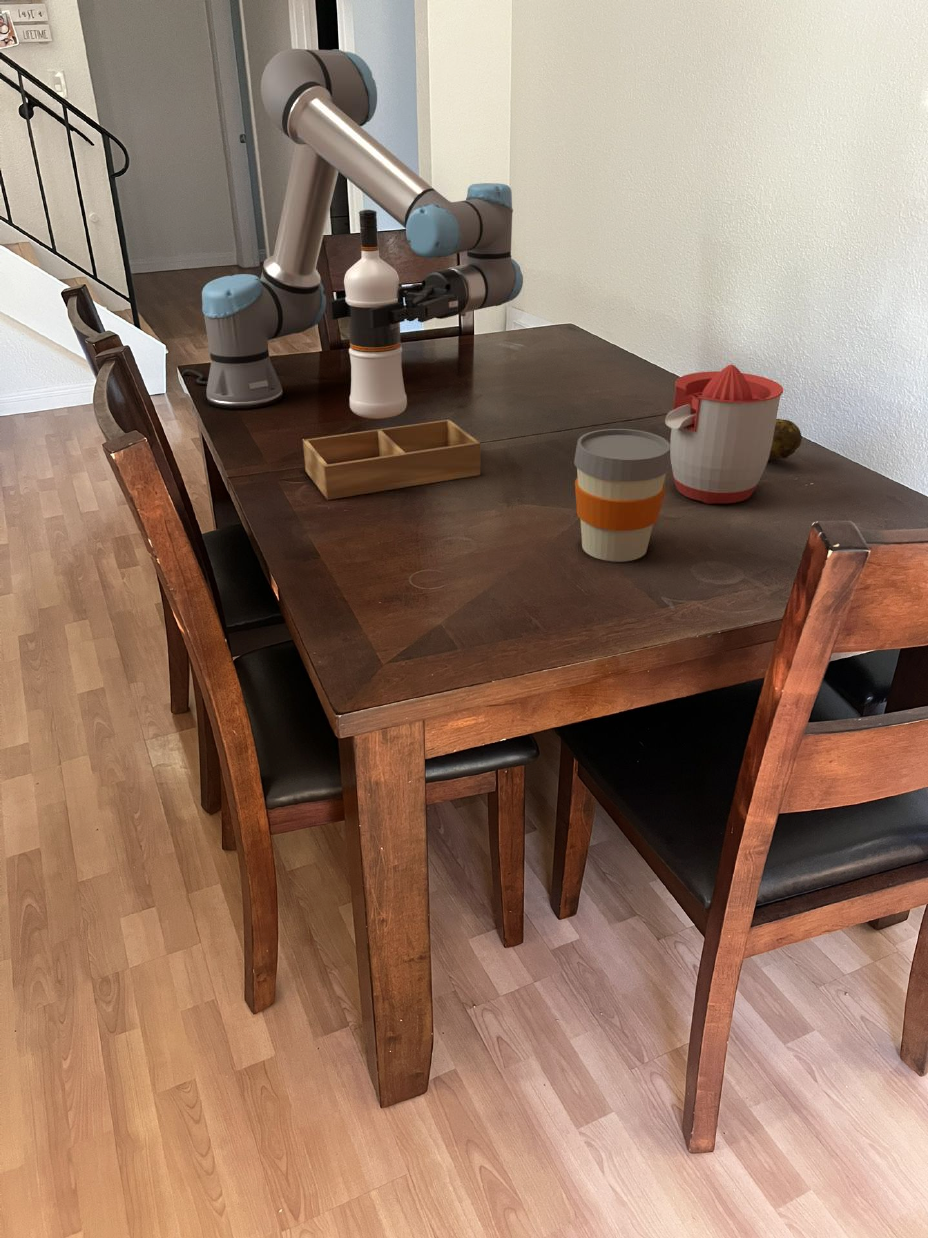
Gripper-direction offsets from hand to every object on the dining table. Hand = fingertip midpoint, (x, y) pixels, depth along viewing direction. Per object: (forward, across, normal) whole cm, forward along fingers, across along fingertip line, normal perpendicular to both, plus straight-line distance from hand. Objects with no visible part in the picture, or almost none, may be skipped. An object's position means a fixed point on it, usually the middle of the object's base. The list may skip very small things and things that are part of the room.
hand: (350, 314), depth 135 cm
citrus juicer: (-31, -47, -26) cm, 62 cm away
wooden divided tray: (-4, -3, -26) cm, 26 cm away
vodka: (-5, 0, -16) cm, 17 cm away
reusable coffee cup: (-5, -46, -26) cm, 53 cm away
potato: (-50, -47, -26) cm, 73 cm away
